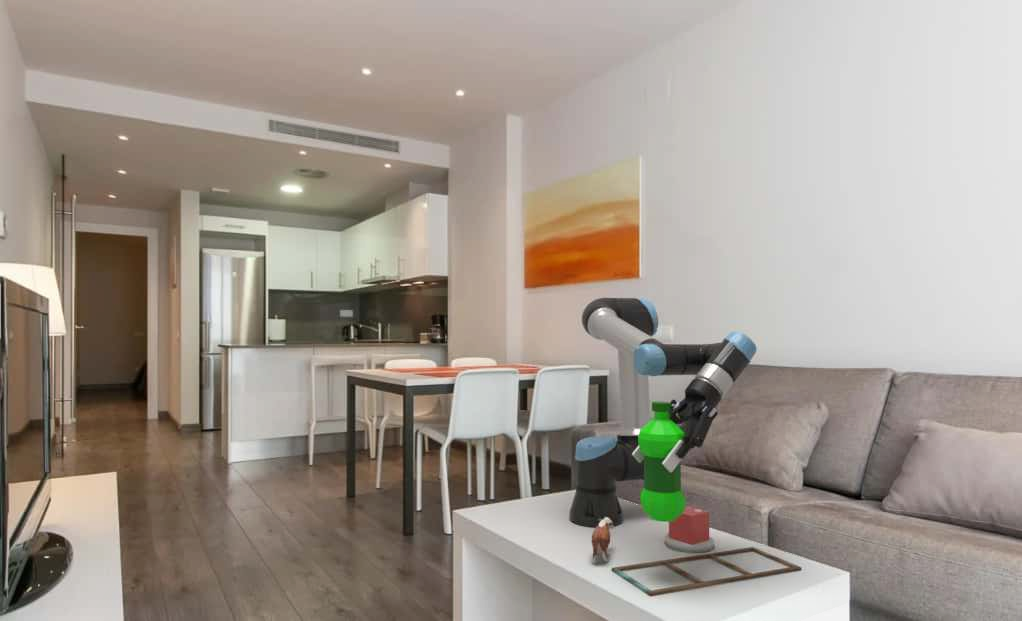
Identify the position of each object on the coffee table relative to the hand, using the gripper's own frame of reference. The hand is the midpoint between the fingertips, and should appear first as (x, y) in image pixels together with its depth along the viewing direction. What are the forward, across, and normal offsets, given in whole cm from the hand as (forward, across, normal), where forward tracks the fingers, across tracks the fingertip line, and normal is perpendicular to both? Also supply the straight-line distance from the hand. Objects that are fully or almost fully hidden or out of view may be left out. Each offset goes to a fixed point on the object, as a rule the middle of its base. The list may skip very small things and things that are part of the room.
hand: (650, 463), depth 134 cm
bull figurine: (+20, +16, -16) cm, 30 cm away
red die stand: (+2, +16, -34) cm, 37 cm away
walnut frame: (+7, 0, -28) cm, 29 cm away
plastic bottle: (+7, 0, -11) cm, 13 cm away
